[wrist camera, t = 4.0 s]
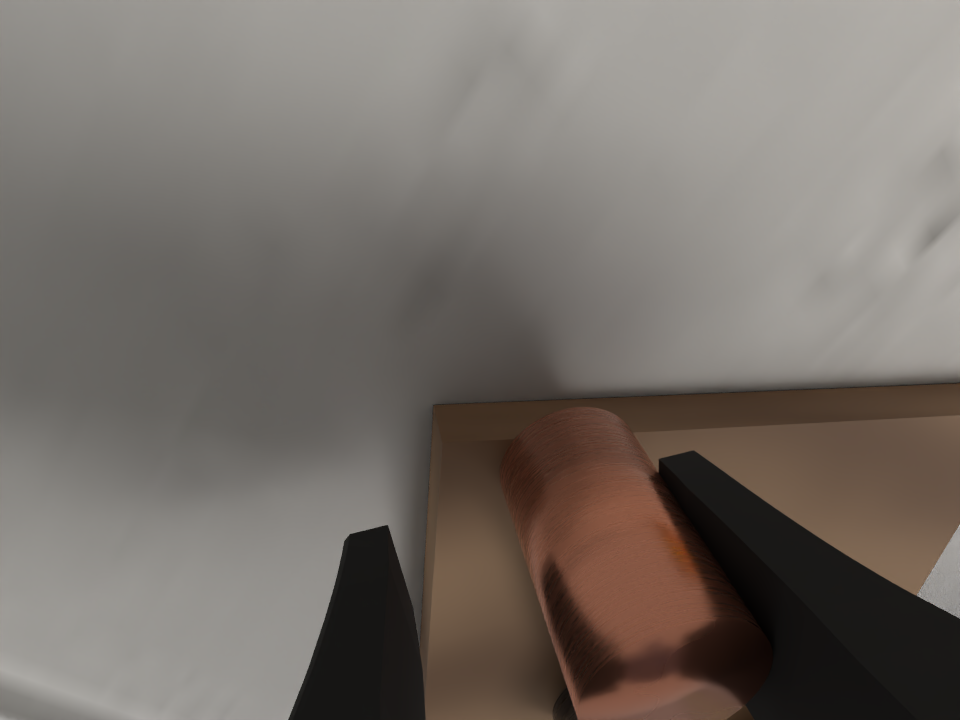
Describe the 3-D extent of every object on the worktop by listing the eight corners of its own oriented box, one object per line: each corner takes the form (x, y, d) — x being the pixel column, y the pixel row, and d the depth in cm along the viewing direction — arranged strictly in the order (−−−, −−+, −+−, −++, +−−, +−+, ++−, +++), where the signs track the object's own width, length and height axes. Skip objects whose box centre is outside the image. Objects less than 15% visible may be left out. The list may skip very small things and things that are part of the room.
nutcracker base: (781, 745, 23) (846, 856, 20) (410, 808, 20) (424, 947, 17) (981, 382, 15) (1132, 477, 12) (433, 404, 13) (463, 532, 10)
